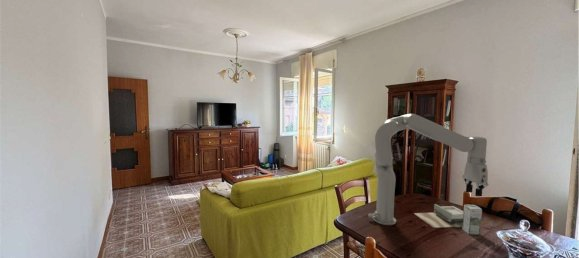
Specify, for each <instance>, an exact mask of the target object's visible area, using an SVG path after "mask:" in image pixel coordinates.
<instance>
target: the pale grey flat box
mask: <svg viewBox="0 0 579 258" xmlns="http://www.w3.org/2000/svg"><path fill="white" fill-rule="evenodd" d="M433 209H434V210H433V213H434V212H435V214H437V215H439V216H440V217H442V218H443V219H445V220H446V221H448V222H450V223H452V224H455V221H463V212H464V210H461V209H460V208H458V207H456V206H454V205H451V206H450V205H449V206H446V205H444V206H441V205H438V204H437V203H434V204H433Z"/></svg>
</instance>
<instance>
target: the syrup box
mask: <svg viewBox="0 0 579 258" xmlns="http://www.w3.org/2000/svg"><path fill="white" fill-rule="evenodd" d="M463 211H464V212H463V224H462V227H461V229H462V230H463V232H465V233H466V234H467V235H472V236H473V235H476V236H480V235H481V226H482V215H483V214H482V213H483V209H482V208H481V207H480V206H478V205H476V204H464V205H463Z"/></svg>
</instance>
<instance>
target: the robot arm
mask: <svg viewBox="0 0 579 258" xmlns="http://www.w3.org/2000/svg"><path fill="white" fill-rule="evenodd" d="M408 129H410V130H412V131H413V132H415V133H418V134H420V135H422V136H425V137H426V138H428V139H431V140H433V141H437V142H439V143H442V144H445V145H446V146H448V147H451V148H452V149H455V150H457V151H460V152H462V153H467V156H466V157H467V159H466V162H465V166H464V174H463V175H462V178H463V181H464V182H465V192H466V193H472V192H473V187H474V184H473V183H475V184H476V188H475V193H474V196H475V197H483V190H484V188H486V187H488V186H489V182H488V177H489V175H488V166H487V164H486V163H487V160H486V157H487V145H488V144H487V143H488V141H487V138H486V137H482V136H465V135H462V134H461V133H457V132H456V131H453V130H451V129H449V128H447V127H445V126H443V125H440V124H438V123H436V122H434V121H432V120H430V119H427V118H425V117H422V116H421V115H418V114H416V113H407V114H403V115H400V116H396V117H392V118H388V119H386V120H384V121H383V123H382V124H381V125H380V126H379V127H378V129H377V130H376V133H375V136H374V145H375V147H374V148H375V154H374V156H375V165H376V166H375V167H376V176H377V182H376V183H377V186H376V206H375V207H376V210H375V211H374V212H373V213H368V214H367V217H368V218H372V219H373V221H375V222H376V223H377V224H380V225H385V226H394V225H395V224H396V223H397V219H396V218H395V217H394V208H395V189H396V179H397V178H396V174H395V171H394V166H393V160H394V157H393V151H392V141H391V139H392V137H393V136H394V135H395V134H397V133H398V132H400V131H403V130H408Z"/></svg>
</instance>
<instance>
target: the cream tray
mask: <svg viewBox="0 0 579 258" xmlns="http://www.w3.org/2000/svg"><path fill="white" fill-rule="evenodd" d="M413 214H414V215H415V216H417V218H419V219H420V220H422V221H424V222H425V224H427V225H428V226H430V227H432V228H433V229H442V228H443V229H446V228H462V224H463V221H455V224H452V223H450V222H448V221H446V220H445V219H443V218H442V217H440V216H439V215H437V214H435V212H434V211H433V212H414V213H413Z"/></svg>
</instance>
